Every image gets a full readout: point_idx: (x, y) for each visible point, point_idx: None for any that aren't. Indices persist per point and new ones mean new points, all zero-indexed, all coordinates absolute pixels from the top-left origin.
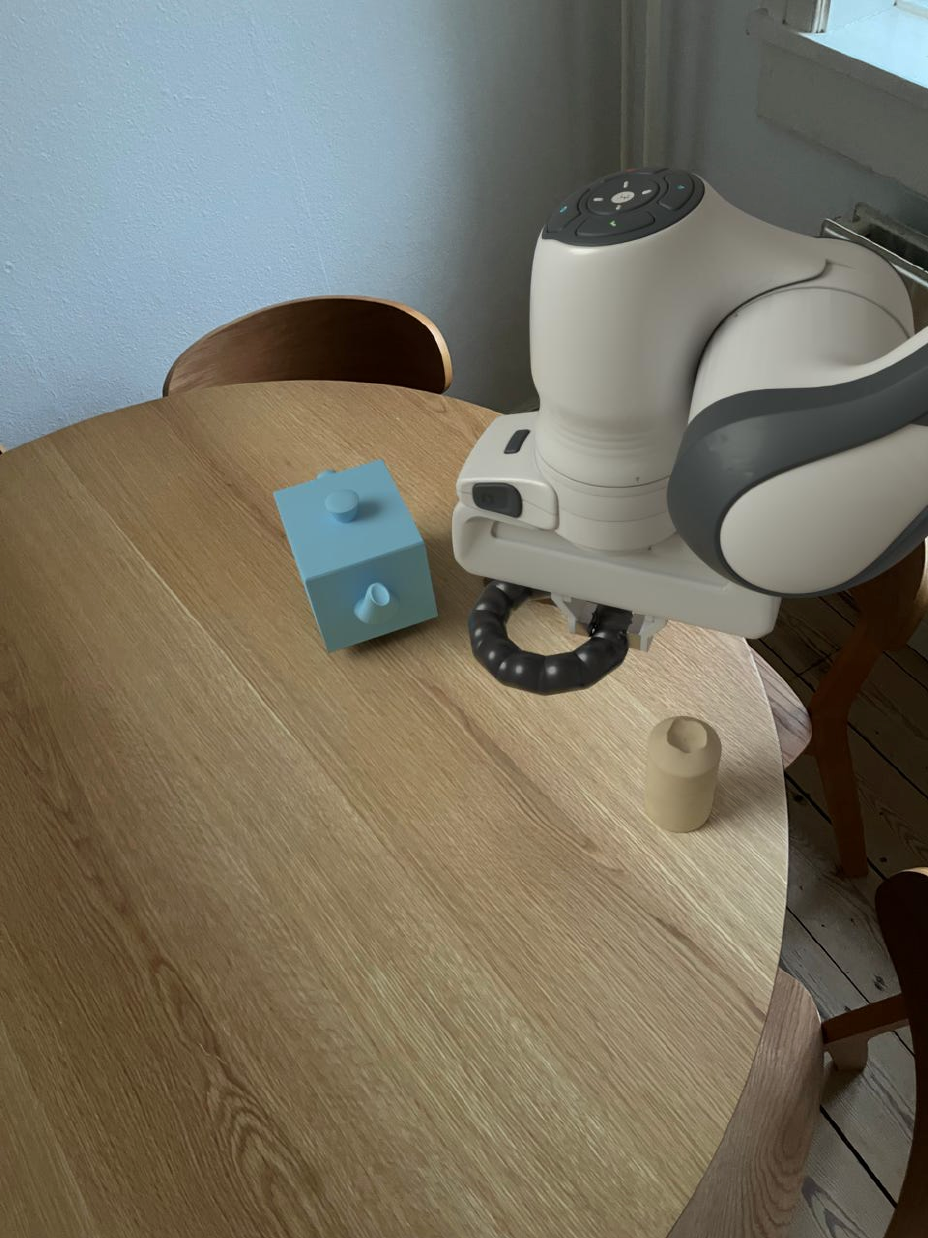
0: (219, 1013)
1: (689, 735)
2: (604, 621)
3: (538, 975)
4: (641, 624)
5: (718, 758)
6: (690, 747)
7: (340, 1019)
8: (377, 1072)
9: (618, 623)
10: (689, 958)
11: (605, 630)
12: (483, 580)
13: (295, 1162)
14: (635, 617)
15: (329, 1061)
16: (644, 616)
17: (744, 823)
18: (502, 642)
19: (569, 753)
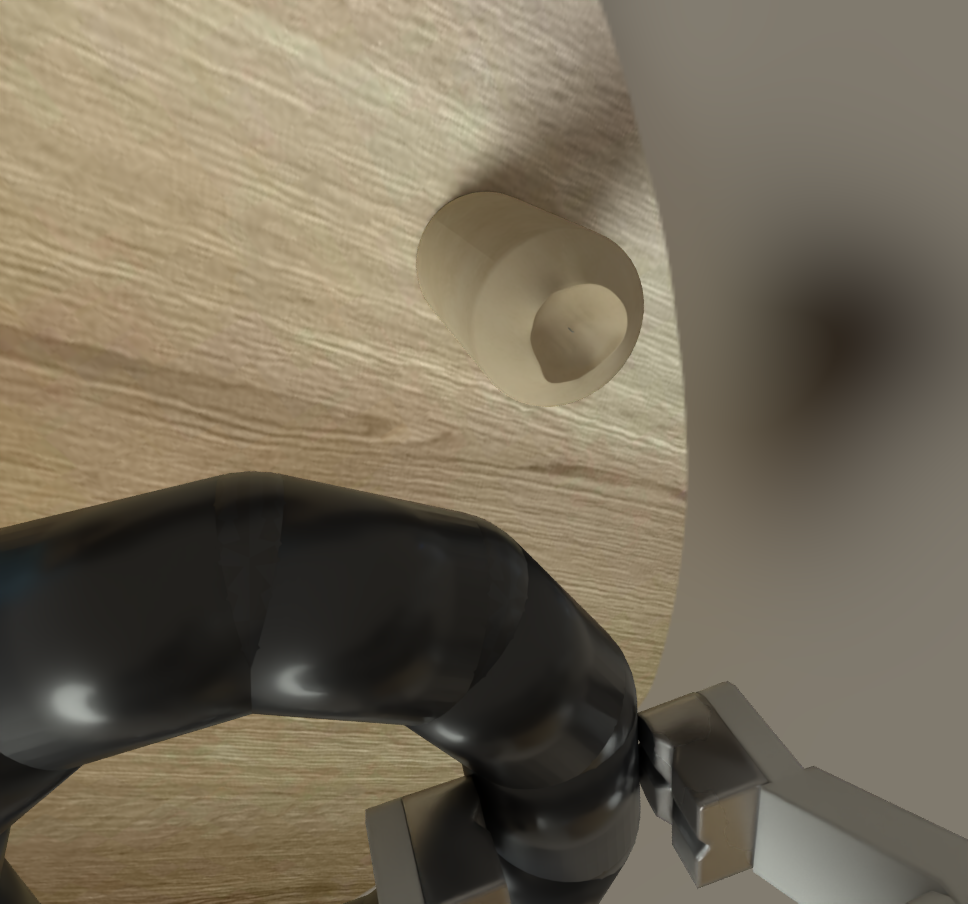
0: (65, 896)
1: (574, 309)
2: (533, 815)
3: None
4: (751, 832)
5: (642, 316)
6: (585, 337)
7: (217, 805)
8: (306, 805)
9: (604, 798)
10: (591, 489)
11: (565, 853)
12: None
13: (292, 893)
14: (713, 819)
15: (245, 833)
16: (751, 790)
17: (605, 234)
18: None
19: (215, 266)
